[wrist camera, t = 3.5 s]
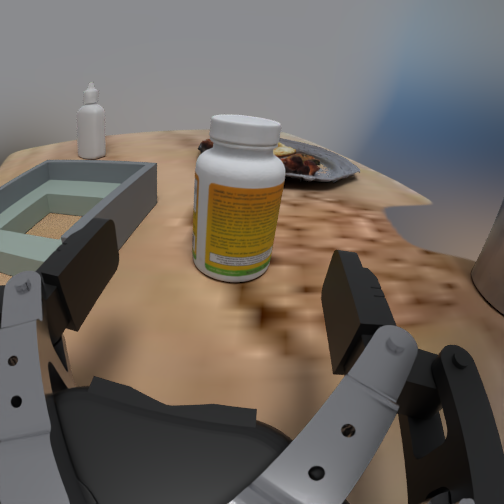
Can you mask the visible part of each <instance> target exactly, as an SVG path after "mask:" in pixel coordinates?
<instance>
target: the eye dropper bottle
mask: <svg viewBox="0 0 504 504" xmlns="http://www.w3.org/2000/svg"><path fill="white" fill-rule="evenodd" d="M96 102H98V90H97V89H95V88H94V83H93V82H91V83H89V85H88V89H87V90H86V91H84V92H83V104H85V105H83V106H82V107H81V108H80V109H79V110H78V112H77V142H78V155H79V156H80V157H81V158H84V159H97V158H100V157H103V156H105V154H106V150H105V110H104V108H103V107H102V106H100V105H99V104H97V103H96Z"/></svg>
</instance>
